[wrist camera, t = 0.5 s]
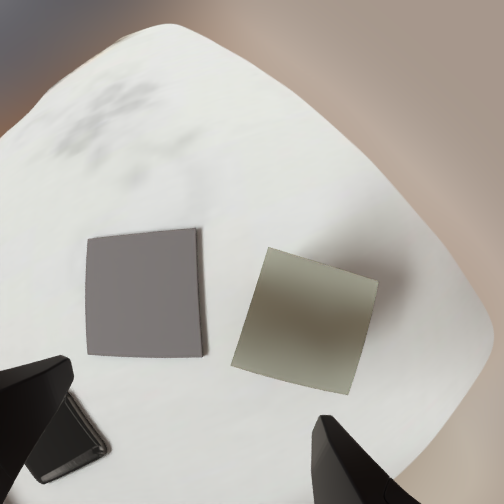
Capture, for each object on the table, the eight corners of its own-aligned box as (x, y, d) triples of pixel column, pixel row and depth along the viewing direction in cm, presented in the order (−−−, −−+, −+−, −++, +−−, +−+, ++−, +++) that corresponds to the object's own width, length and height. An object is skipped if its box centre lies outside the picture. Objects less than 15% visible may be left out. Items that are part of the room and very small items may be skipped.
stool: (310, 369, 22) (348, 395, 13) (237, 349, 23) (230, 365, 13) (331, 298, 24) (378, 281, 15) (261, 276, 24) (268, 247, 15)
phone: (107, 453, 19) (40, 485, 16) (112, 449, 20) (45, 482, 18) (60, 386, 20) (4, 432, 18) (66, 385, 22) (9, 430, 19)
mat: (202, 356, 22) (202, 357, 22) (90, 354, 22) (87, 354, 22) (196, 230, 25) (195, 228, 25) (90, 240, 25) (87, 239, 24)
